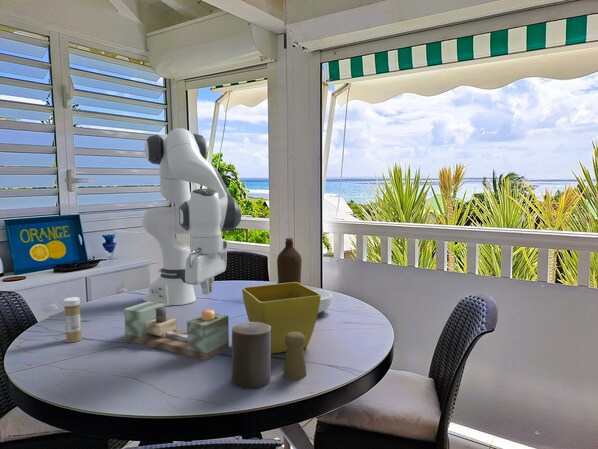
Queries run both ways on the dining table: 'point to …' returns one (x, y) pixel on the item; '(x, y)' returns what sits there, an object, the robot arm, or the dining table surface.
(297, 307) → the flower pot
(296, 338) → the game pawn
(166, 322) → the carriage
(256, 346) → the pillar candle
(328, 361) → the dining table surface
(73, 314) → the sprinkles bottle
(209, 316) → the plunger
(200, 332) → the rail bed
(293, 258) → the olive oil
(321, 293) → the cereal bowl
